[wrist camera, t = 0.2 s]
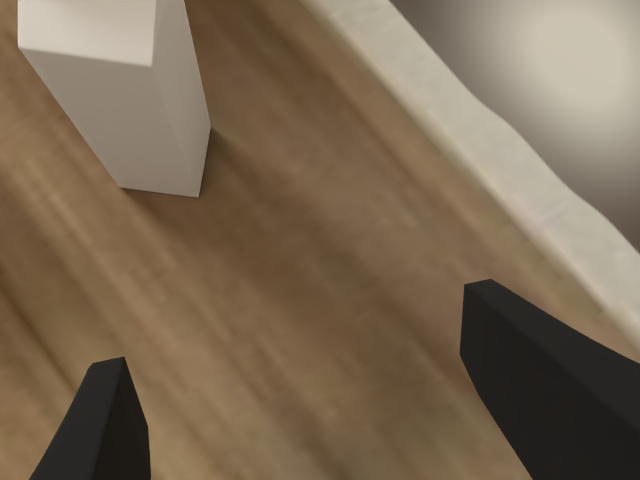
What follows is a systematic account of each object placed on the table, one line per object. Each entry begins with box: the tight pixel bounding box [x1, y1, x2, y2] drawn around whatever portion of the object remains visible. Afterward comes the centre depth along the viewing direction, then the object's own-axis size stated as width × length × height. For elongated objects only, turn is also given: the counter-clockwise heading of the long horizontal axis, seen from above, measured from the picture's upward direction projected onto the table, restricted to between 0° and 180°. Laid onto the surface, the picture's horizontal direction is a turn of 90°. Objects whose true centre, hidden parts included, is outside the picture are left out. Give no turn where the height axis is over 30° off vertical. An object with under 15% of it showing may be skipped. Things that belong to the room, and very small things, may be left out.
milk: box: [18, 0, 211, 198], centre depth 35 cm, size 6×6×22 cm
